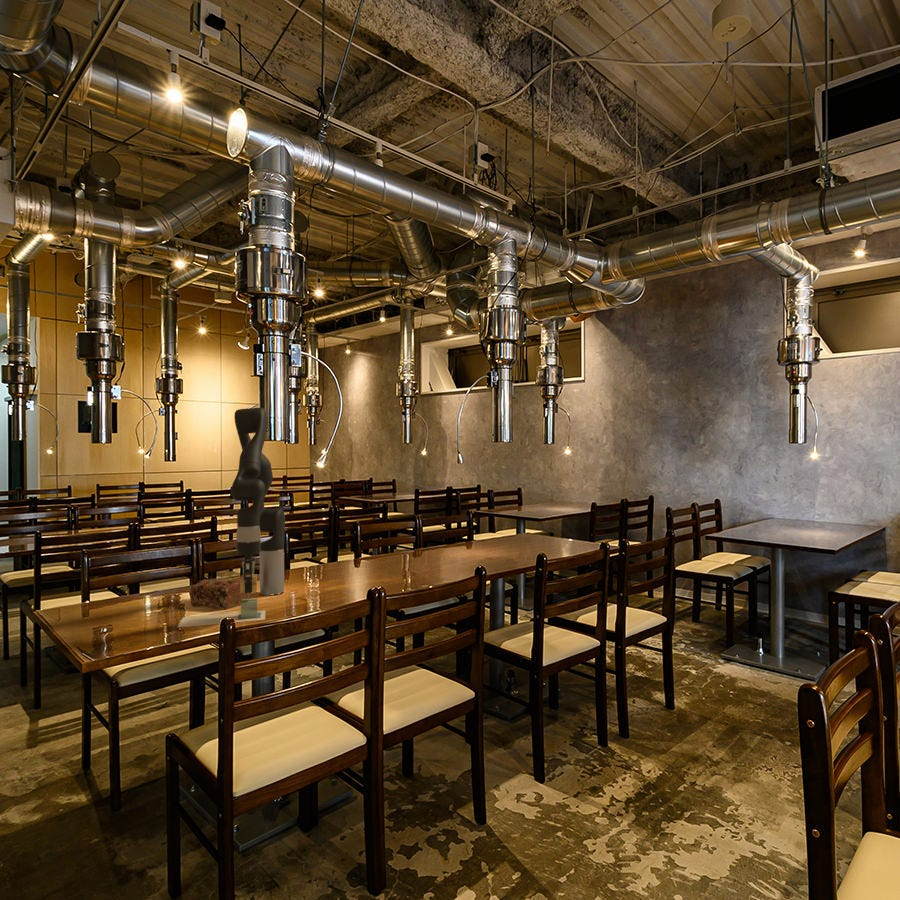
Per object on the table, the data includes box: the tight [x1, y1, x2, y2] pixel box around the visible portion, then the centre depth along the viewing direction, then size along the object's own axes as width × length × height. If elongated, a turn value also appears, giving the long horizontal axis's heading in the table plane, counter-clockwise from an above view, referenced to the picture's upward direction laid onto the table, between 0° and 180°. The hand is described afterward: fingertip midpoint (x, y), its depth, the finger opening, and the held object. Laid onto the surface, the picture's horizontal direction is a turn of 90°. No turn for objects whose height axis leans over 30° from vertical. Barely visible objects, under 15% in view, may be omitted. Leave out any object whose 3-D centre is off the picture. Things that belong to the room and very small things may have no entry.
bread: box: [189, 578, 249, 611], centre depth 208 cm, size 19×11×10 cm, turn 62°
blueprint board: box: [177, 610, 266, 628], centre depth 189 cm, size 12×26×1 cm, turn 107°
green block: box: [240, 598, 259, 618], centre depth 191 cm, size 5×5×5 cm
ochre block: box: [239, 573, 258, 594], centre depth 191 cm, size 5×5×5 cm
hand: (248, 590), depth 191 cm, fingers closed on ochre block, 5 cm apart
